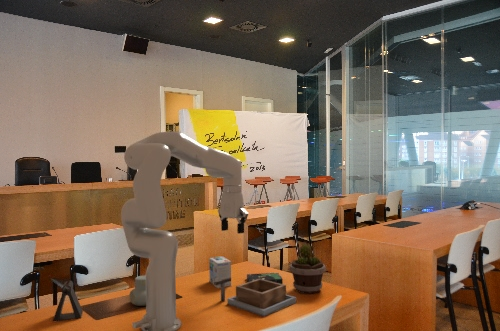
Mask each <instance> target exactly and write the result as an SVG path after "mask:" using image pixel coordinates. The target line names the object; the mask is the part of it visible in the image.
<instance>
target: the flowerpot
mask: <svg viewBox="0 0 500 331" xmlns="http://www.w3.org/2000/svg"><path fill="white" fill-rule="evenodd" d="M312 252H313V249H312V248H311V246H310V245H309V244H308V243H307V242H306V241H305V240H304V242H303V243H301V245H300V246H299V250H298V254H299V257H298V258H297V259H294V260H293V261H291V263H290V265H289V271H290V273H292V278H293V282H292V286H293V287H294V289H295V291H296V292H298V293H300V294H303V295H304V294H305V295H310V294H316V293H319V292H320V290H322V287H323V281H322V280H323V277H324V276H323V275H324V273H326V268H327V267H326V265H325V264H324V263H323V261H322V260H320V259H319V258H318V256H316V254H314V253H312Z"/></svg>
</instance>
